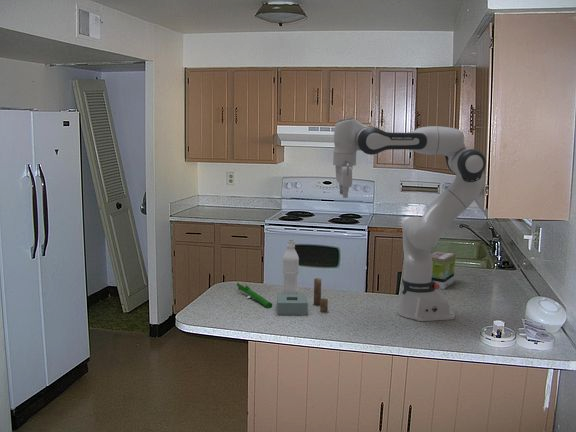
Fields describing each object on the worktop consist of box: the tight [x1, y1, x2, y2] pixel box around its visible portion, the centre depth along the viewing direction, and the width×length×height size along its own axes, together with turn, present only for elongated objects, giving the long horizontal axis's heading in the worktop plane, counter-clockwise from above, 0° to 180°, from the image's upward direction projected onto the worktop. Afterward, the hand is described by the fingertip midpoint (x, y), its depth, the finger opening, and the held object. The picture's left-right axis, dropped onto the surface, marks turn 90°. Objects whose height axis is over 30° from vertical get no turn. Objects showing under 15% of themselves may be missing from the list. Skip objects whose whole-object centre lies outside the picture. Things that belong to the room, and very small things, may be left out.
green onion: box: [236, 282, 273, 309], centre depth 263 cm, size 5×3×30 cm
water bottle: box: [281, 239, 300, 294], centre depth 265 cm, size 7×7×25 cm
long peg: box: [313, 277, 322, 307], centre depth 255 cm, size 3×3×11 cm
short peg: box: [319, 297, 329, 313], centre depth 247 cm, size 3×3×5 cm
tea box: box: [431, 250, 456, 290], centre depth 288 cm, size 15×10×15 cm, turn 148°
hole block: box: [276, 293, 309, 316], centre depth 247 cm, size 12×12×5 cm
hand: (343, 196), depth 237 cm, fingers open, 8 cm apart
